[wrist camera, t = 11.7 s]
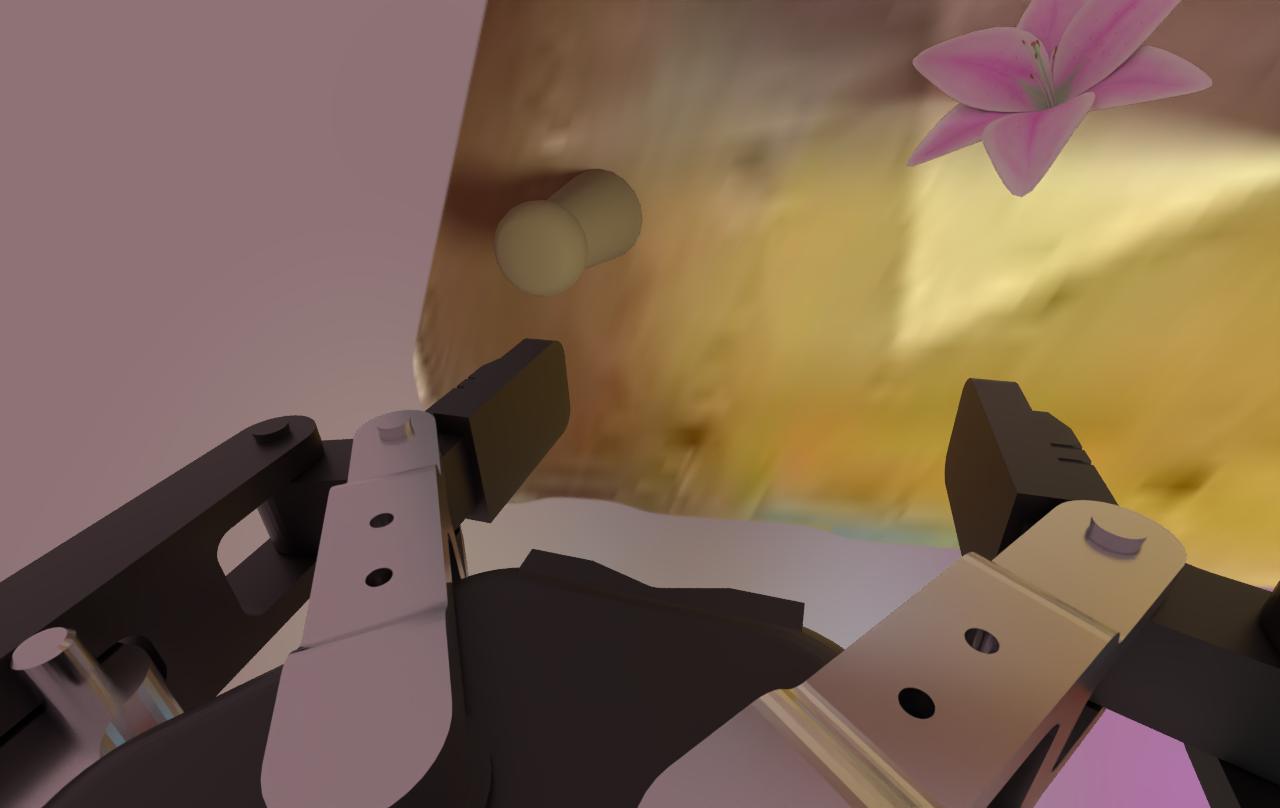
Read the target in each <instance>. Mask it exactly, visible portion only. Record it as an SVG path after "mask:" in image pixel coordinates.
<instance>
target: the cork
mask: <svg viewBox="0 0 1280 808" xmlns="http://www.w3.org/2000/svg"><path fill="white" fill-rule="evenodd" d="M641 224H642V214H641V206H640V203H639V201H638V199H637V196H636V194H635V192H634V190H633V189H632V188H631V187H630V186H629V184H628V183H627V182H626V181H625V180H624V179H622V178H621V177H619V176H618V175H616V174H615V173H613V172H609V171H605V170H601V169H595V170H587V171H585V172H583V173H581V174H579V175H577V176H575V177H574V178H573V179H571V180H570V181H569V182H568V183H566V184H565V185H564V186H563V187H562V188H560V189H559V190H558V191H557V192H556V193H554V194H553V195H552V196H551V197H549V198H548V199H547V200H546V201H545V200H533V201H526V202H523V203H521V204H519V205H517V206H515V207H513V208H511V209H510V210H509V211H508V213H507V214H506V215H505V216H504V217H503V219H502V220H501V221H500V222H499V224H498V227H497V230H496V233H495V240H494V252H495V256H496V260H497V264H498V266H499V267H500V269H501V271H502V273H503V275H504V276H505V277H506V278H507V279H508V280H509V282H510V283H511V284H512V285H514V286H515V287H517V288H519V289H520V290H522V291H523V292H525V293H528V294H531V295H535V296H552V295H556V294H559V293H561V292H563V291H566V290H567V289H568V288H570V287H571V286H572V285H573V284H574V283H575V282H576V281H577V280H578V279H579V278H580V276H581V274H582V272H583V269H586V268H589V267H592V266H594V265H597V264H600V263H603V262H605V261H608V260H611V259H614V258H616V257H618V256H621V255H623V254H625V253H626V252H627V251H628V250H629V249H630V248H631V247H632V246H633V245H634V244H635V242H636V240H637V238H638V236H639V234H640V229H641Z"/></svg>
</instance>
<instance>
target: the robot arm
mask: <svg viewBox="0 0 1280 808" xmlns="http://www.w3.org/2000/svg"><path fill="white" fill-rule="evenodd" d="M569 416H570V400H569V391H568V382H567V373H566V364H565V355H564V350H563V347H562V345H561V343H560V342H558V341H551V340H540V339H528V338H526V339H524V340H522V341H521V342H520V343H519V344H518V345H516V346H515V347H514V348H513V349H511V350H510V351H509V352H508V353H506V354H505V355H504V356H503V357H501V358H500V359H497V360H495V361H493V362H490V363H488V364H486V365H483V366H482V367H480V368H479V369H478V370H476V371H475V372H474V373H473V374H471V375H470V376H469V377H468V379H465V380H464V381H463V382H461V383H460V384H459V385H457V388H454V389H452V390H451V391H450V392H449V393H447V394H446V395H445V396H444V397H442V398H441V399H440V400H438V401H437V402H436V403H435V404H433V405H432V406H431V407H430V408H428V409H427V410H426V411H425V412H424V411H419V410H402V411H396V412H391V413H387V414H384V415H381V416H378V417H376V418H374V419H372V420H370V421H368V422H366V423H365V424H363V425H362V426H361V427H360V428H359V429H358V430H357V431H356V433H355V435H354V439H345V440H344V439H343V440H325V441H322V440H321V438H320V435H319V432H318V429H317V426H316V424H315V421H314V420H312V419H311V418H309V417H306V416H296V415H295V416H283V417H278V418H273V419H269V420H266V421H263V422H260V423H257V424H255V425H252V426H250V427H248V428H246V429H245V430H243V431H241V432H240V433H238V434H236V435H235V436H233V437H232V438H230V439H228V440H227V441H225V442H223V443H222V444H220V445H219V446H217V447H215V448H214V449H212V450H211V451H209V452H207V453H206V454H204V455H203V456H201V457H200V458H198V459H196V460H195V461H193V462H192V463H190V464H189V465H187V466H185V467H184V468H182V469H180V470H179V471H177V472H176V473H174V474H172V475H171V476H169V477H168V478H166V479H164V480H163V481H161V482H160V483H158V484H156V485H155V486H153V487H152V488H150V489H149V490H147V491H145V492H144V493H142V494H141V495H139V496H138V497H136V498H134V499H133V500H131V501H130V502H128V503H126V504H125V505H123V506H121V507H120V508H118V509H117V510H115V511H114V512H112V513H110V514H109V515H107V516H105V517H104V518H102V519H101V520H99V521H97V522H96V523H94V524H93V525H91V526H90V527H88V528H86V529H85V530H83V531H82V532H80V533H78V534H77V535H75V536H74V537H72V538H70V539H69V540H67V541H66V542H64V543H62V544H61V545H59V546H58V547H56V548H54V549H53V550H52V551H50V552H48V553H47V554H45V555H43V556H42V557H40V558H38V559H37V560H35V561H34V562H32V563H30V564H29V565H27V566H26V567H24V568H22V569H21V570H19V571H18V572H16V573H15V574H13V575H11V576H10V577H8V578H7V579H5V580H4V581H2V582H0V808H1034V806H1035V805H1036V803H1037V802H1038V800H1039V799H1040V797H1041V796H1042V794H1043V793H1044V792H1045V790H1046V789H1047V788H1048V786H1049V785H1050V784H1051V782H1052V781H1053V780H1054V778H1055V777H1056V776H1057V774H1058V773H1059V772H1060V770H1061V769H1062V768H1063V766H1064V765H1065V764H1066V762H1067V761H1068V760H1069V758H1070V757H1071V756H1072V754H1073V753H1074V752H1075V750H1076V749H1077V748H1078V747H1079V745H1080V744H1081V743H1082V741H1083V740H1084V739H1085V737H1086V736H1087V734H1088V733H1089V732H1090V730H1091V729H1092V728H1093V727H1094V725H1095V724H1096V723H1097V721H1098V720H1099V719H1100V717H1101V716H1102V715H1103V713H1104V712H1105V710H1106V708H1107V709H1109V710H1112V711H1114V712H1116V713H1118V714H1120V715H1123V716H1125V717H1127V718H1129V719H1132V720H1134V721H1136V722H1138V723H1141V724H1143V725H1145V726H1148V727H1150V728H1152V729H1154V730H1157V731H1159V732H1161V733H1163V734H1165V735H1168V736H1170V737H1172V738H1174V739H1177V740H1179V741H1181V742H1183V743H1184V745H1185V748H1186V751H1187V753H1188V755H1189V758H1190V760H1191V762H1192V765H1193V767H1194V770H1195V772H1196V774H1197V777H1198V779H1199V781H1200V784H1201V786H1202V788H1203V791H1204V793H1205V795H1206V798H1207V800H1208V802H1209V805H1210V807H1211V808H1280V581H1279V582H1278V584H1277V586H1276V587H1275V589H1274V590H1273V592H1270V591H1267V590H1264V589H1261V588H1258V587H1255V586H1251V585H1248V584H1245V583H1242V582H1239V581H1236V580H1233V579H1229V578H1226V577H1223V576H1220V575H1217V574H1214V573H1211V572H1208V571H1205V570H1202V569H1199V568H1196V567H1194V566H1192V565H1189V564H1187V563H1185V562H1186V560H1187V554H1186V551H1185V548H1184V547H1183V545H1182V544H1181V542H1180V541H1179V540H1178V539H1177V538H1176V537H1175V536H1174V535H1173V534H1172V533H1171V532H1170V531H1168V530H1167V529H1166V528H1164V527H1163V526H1161V525H1160V524H1159V523H1157V522H1155V521H1153V520H1152V519H1150V518H1148V517H1146V516H1144V515H1142V514H1139V513H1137V512H1135V511H1132V510H1129V509H1127V508H1124V507H1120V506H1119V505H1118V504H1117V502H1116V501H1115V499H1114V497H1113V496H1112V494H1111V492H1110V491H1109V489H1108V488H1107V486H1106V484H1105V483H1104V481H1103V480H1102V478H1101V476H1100V475H1099V473H1098V471H1097V470H1096V468H1095V467H1094V465H1091V460H1090V459H1089V457H1088V455H1087V454H1086V452H1085V451H1084V450H1082V446H1081V444H1080V442H1079V441H1078V439H1077V438H1076V436H1075V434H1074V433H1073V431H1072V430H1071V428H1069V427H1068V426H1066V425H1065V424H1064V423H1062V422H1061V421H1059V420H1058V419H1057V418H1055V417H1054V416H1052V415H1051V414H1049V413H1048V412H1040V411H1032V409H1031V407H1030V405H1029V404H1028V402H1027V400H1026V398H1025V396H1024V394H1023V392H1022V391H1021V389H1020V387H1019V385H1018V384H1017V383H1016V382H1009V381H997V380H986V379H975V378H969V379H968V380H967V381H966V383H965V385H964V388H963V391H962V395H961V399H960V403H959V407H958V411H957V415H956V419H955V423H954V427H953V431H952V435H951V439H950V443H949V447H948V451H947V456H946V463H945V484H946V489H947V493H948V498H949V502H950V506H951V511H952V515H953V520H954V524H955V528H956V533H957V537H958V541H959V546H960V550H961V554H962V557H961V558H960V559H959V560H957V561H956V562H955V563H954V564H952V565H951V566H950V567H949V568H947V569H946V570H945V571H944V572H943V573H941V574H940V575H939V576H938V577H936V578H935V579H934V580H932V581H931V582H930V583H928V584H927V585H926V586H925V587H924V588H922V589H921V590H920V591H919V592H917V593H916V594H915V595H913V596H912V597H911V598H910V599H908V600H907V601H906V602H905V603H903V604H902V605H901V606H900V607H898V608H897V609H896V610H894V611H893V612H892V613H891V614H890V615H888V616H887V617H886V618H884V619H883V620H882V621H881V622H879V623H878V624H877V625H876V626H874V627H873V628H872V629H871V630H869V631H868V632H867V633H865V634H864V635H863V636H862V637H861V638H859V639H858V640H857V641H856V642H854V643H853V644H852V645H851V646H849V647H848V648H847V649H843V648H842V647H840V646H839V645H837V644H836V643H834V642H833V641H831V640H829V639H827V638H825V637H824V636H822V635H820V634H818V633H816V632H814V631H812V630H810V629H808V628H806V627H803V615H804V603H802V602H796V601H791V600H786V599H781V598H776V597H771V596H766V595H761V594H756V593H751V592H746V591H741V590H736V589H731V588H655V587H651V586H648V585H646V584H643V583H641V582H639V581H637V580H635V579H632V578H630V577H628V576H626V575H623V574H621V573H619V572H617V571H614V570H612V569H610V568H608V567H605V566H603V565H601V564H599V563H596V562H594V561H591V560H586V559H581V558H576V557H571V556H566V555H560V554H556V553H550V552H545V551H541V550H536V549H532V550H531V552H530V553H529V555H528V556H527V557H526V559H525V561H524V562H523V563H522V565H521V566H520V568H507V569H498V570H492V571H487V572H482V573H479V574H475V575H472V576H469V574H468V567H467V560H466V553H465V545H464V539H463V534H462V530H461V525H460V524H461V523H462V522H463V521H464V519H465V518H467V519H471V520H476V521H482V522H487V523H491V522H492V521H493V520H494V518H495V517H496V516H497V515H498V513H499V512H500V511H501V510H502V508H503V507H504V506H505V505H506V504H507V502H508V501H509V500H510V499H511V497H512V496H513V495H514V494H515V492H516V491H517V490H518V489H519V487H520V486H521V485H522V484H523V482H524V481H525V480H526V479H527V477H528V476H529V475H530V474H531V472H532V471H533V470H534V469H535V467H536V466H537V465H538V464H539V462H540V461H541V460H542V459H543V458H544V456H545V455H546V454H547V453H548V451H549V450H550V449H551V448H552V446H553V445H554V444H555V443H556V441H557V440H558V439H559V438H560V436H561V435H562V434H563V433H564V431H565V429H566V427H567V424H568V421H569ZM256 508H257V509H258V511H259V513H260V516H261V518H262V520H263V522H264V525H265V527H266V529H267V531H268V534H269V536H270V539H268V540H267V541H266V542H265V543H264V544H263V545H262V546H260V547H259V548H258V549H257V550H256V551H255V552H253V553H252V554H251V555H250V556H249V557H248V558H246V559H245V560H244V561H243V562H242V563H241V564H239V565H238V566H237V567H236V568H235V569H234V570H232V571H231V572H230V573H229V574H228V575H227V576H225V574H224V572H223V570H222V569H221V567H220V565H219V562H218V559H217V550H218V545H219V543H220V541H221V539H222V537H223V536H224V535H225V533H226V532H227V531H228V530H230V529H231V528H232V527H233V526H235V525H236V524H237V523H238V522H240V521H241V520H242V519H243V518H245V517H246V516H247V515H249V514H250V513H251V512H252V511H254V510H255V509H256ZM309 598H310V600H309V605H308V611H307V616H306V622H305V627H304V633H303V638H302V642H301V644H300V646H299V648H298V649H297V650H294V651H292V652H291V653H290V654H289V655H288V657H287V659H286V661H285V663H284V664H283V665H281V666H279V667H277V668H275V669H273V670H270V671H268V672H266V673H264V674H262V675H260V676H258V677H256V678H254V679H252V680H250V681H248V682H246V683H244V684H242V685H239V686H237V687H235V688H233V689H231V690H229V691H228V692H225V693H223V694H221V695H219V696H217V695H218V694H219V693H220V691H221V690H222V689H223V688H224V687H225V686H226V685H227V684H228V683H229V682H230V681H231V680H232V679H233V678H234V677H235V676H236V674H237V673H239V672H240V670H241V669H242V668H243V667H244V666H245V665H246V664H247V663H248V662H249V661H250V660H251V659H252V658H253V657H254V656H255V655H256V654H257V652H259V650H261V648H262V647H263V646H264V645H265V644H266V643H267V642H268V641H269V640H270V639H271V638H272V637H273V636H274V635H275V634H276V633H277V632H278V631H279V630H280V629H281V628H282V626H283V625H284V624H285V623H286V622H287V621H288V620H289V619H290V618H291V617H292V616H293V615H294V614H295V613H296V612H297V611H298V610H299V609H300V608H301V607H302V606H303V604H304V603H305V602H306V601H307V600H308V599H309ZM216 696H217V697H216Z"/></svg>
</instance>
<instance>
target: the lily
mask: <svg viewBox="0 0 1280 808" xmlns="http://www.w3.org/2000/svg"><path fill="white" fill-rule="evenodd" d="M1180 1H1181V0H1032V1H1031V3H1030V4H1029V6H1028V7H1027V9H1026V10H1025V12H1024V13H1023V15H1022V17H1021V19H1020V21H1019V23H1018V25H1017V26H1016V28H1015V27H992V28H988V29H983V30H978V31H973V32H970V33H967V34H964V35H961V36H957V37H954V38H951V39H949V40H946V41H944V42H941V43H938V44H936V45H933V46H931V47H929V48H927V49H925V50H923V51H922V52H921V53H920V54H918V55H917V56H916V57H915V58H913V62H912V63H913V65H914V67H915V68H916V70H918V71H919V72H920V73H921V74H922V75H923V76H924V77H925V78H927V79H928V80H929V81H930V82H931V83H933V84H934V85H935V86H936V87H938V88H939V89H940V90H941V91H942V92H943V93H945V94H946V95H948V96H949V97H951V98H952V99H954V100H955V101H958V102H960V104H958V105H957V106H955V107H954V108H953V109H952V110H951V111H950V112H949V113H948V114H947V115H946V116H944V117H943V118H942V119H941V120H940V121H939V122H938V124H937V125H936V126H935V127H934V128H933V129H932V130H931V131H930V132H929V133H928V135H927V136H926V137H925V138H924V139H923V141H922V142H921V143H920V144H919V146H918V147H917V148H916V149H915V151H914V152H913V154H912V155H911V157H910V158H909V160H908V163H907V166H915V165H918V164H921V163H924V162H926V161H929V160H932V159H935V158H937V157H940V156H943V155H945V154H948V153H951V152H953V151H956V150H959V149H961V148H964V147H967V146H969V145H972V144H974V143H977V142H980V141H982V140H983V144H984V146H985V148H986V151H987V153H988V155H989V157H990V159H991V161H992V163H993V166H994V168H995V170H996V171H997V173H998V175H999V177H1000V178H1001V180H1002V182H1003V184H1004V185H1005V186H1006V187H1007V189H1008V190H1009V191H1010V192H1011V193H1012V194H1013V195H1016V196H1020V197H1023V196H1024V195H1026V194H1027V193H1029V192H1031V191H1032V190H1033V189H1034V188H1035V186H1036V185H1037V184H1038V183H1039V182H1040V180H1041V179H1042V178H1043V177H1044V175H1045V174H1046V172H1047V171H1048V170H1049V168H1050V167H1051V165H1052V164H1053V162H1054V161H1055V159H1056V158H1057V156H1058V155H1059V153H1060V152H1061V150H1062V149H1063V147H1064V146H1065V144H1066V143H1067V141H1068V140H1069V138H1070V137H1071V135H1072V134H1073V132H1074V131H1075V130H1076V128H1077V127H1078V125H1079V124H1080V123H1081V121H1082V120H1083V118H1084V117H1085V116H1086V114H1087V113H1088V111H1092V110H1099V109H1105V108H1111V107H1117V106H1124V105H1129V104H1135V103H1141V102H1147V101H1153V100H1158V99H1164V98H1169V97H1175V96H1180V95H1185V94H1190V93H1195V92H1200V91H1203V90H1205V89H1207V88H1209V87H1212V79H1211V78H1210V77H1209V76H1208V75H1207V74H1206V73H1205V72H1204V71H1203V70H1201V69H1200V68H1198V67H1197V66H1195V65H1193V64H1192V63H1190V62H1189V61H1187V60H1185V59H1183V58H1181V57H1179V56H1177V55H1175V54H1173V53H1171V52H1169V51H1167V50H1164V49H1160V48H1157V47H1154V46H1151V45H1141V44H1142V43H1143V42H1144V41H1145V40H1146V39H1147V38H1148V37H1149V36H1150V35H1151V34H1152V32H1153V31H1154V30H1155V29H1156V28H1157V27H1158V26H1159V25H1160V24H1161V23H1162V21H1163V20H1164V19H1165V18H1166V17H1167V16H1168V15H1169V14H1170V13H1171V11H1172V10H1173V9H1174V8H1175V7H1176V6H1177V5H1178V4H1179V3H1180Z"/></svg>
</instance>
